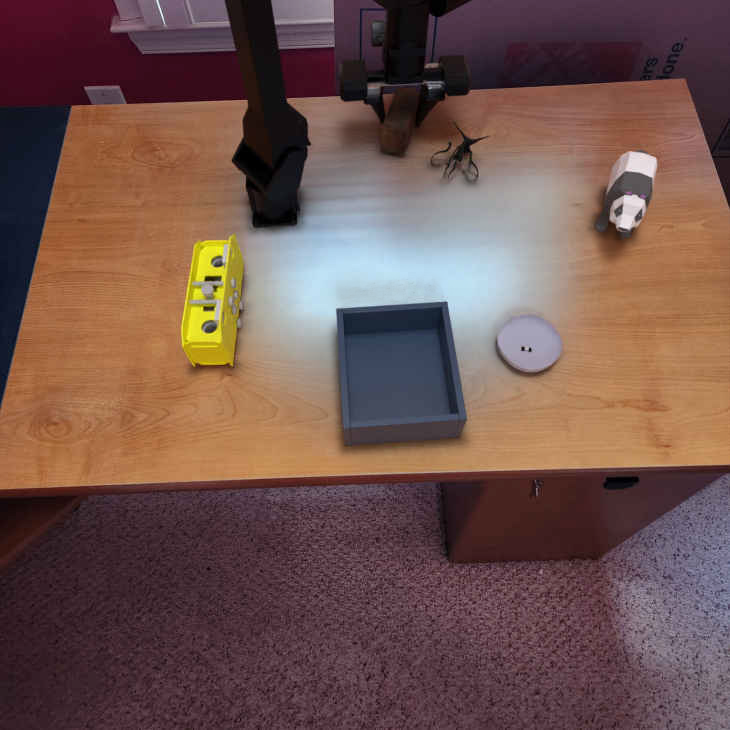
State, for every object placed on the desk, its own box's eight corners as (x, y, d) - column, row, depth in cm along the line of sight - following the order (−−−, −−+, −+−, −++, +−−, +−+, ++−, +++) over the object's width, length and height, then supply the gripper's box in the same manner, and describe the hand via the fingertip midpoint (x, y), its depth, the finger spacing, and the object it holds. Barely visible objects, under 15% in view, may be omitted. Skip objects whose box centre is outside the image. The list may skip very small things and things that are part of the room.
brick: (404, 157, 89) (406, 131, 85) (379, 152, 90) (380, 126, 86) (420, 112, 94) (422, 86, 90) (396, 108, 95) (398, 82, 90)
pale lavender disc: (557, 381, 71) (561, 374, 70) (492, 371, 72) (495, 364, 70) (558, 326, 75) (563, 319, 73) (497, 318, 76) (499, 310, 74)
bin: (344, 445, 68) (343, 428, 63) (338, 332, 75) (335, 308, 70) (460, 437, 68) (467, 419, 63) (442, 325, 75) (447, 301, 70)
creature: (468, 195, 87) (493, 155, 89) (469, 173, 82) (496, 131, 84) (423, 175, 89) (448, 136, 91) (421, 153, 84) (448, 112, 86)
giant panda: (603, 184, 87) (628, 131, 78) (641, 193, 86) (670, 141, 77) (585, 256, 80) (610, 207, 72) (625, 267, 80) (655, 219, 71)
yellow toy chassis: (238, 369, 73) (223, 334, 65) (192, 369, 73) (172, 335, 65) (248, 266, 80) (236, 225, 73) (207, 267, 80) (191, 226, 73)
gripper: (466, -9, 81) (452, 90, 95) (334, -3, 81) (339, 95, 95) (479, 39, 76) (462, 137, 90) (337, 46, 76) (342, 143, 89)
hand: (400, 126), depth 91 cm, fingers closed on brick, 5 cm apart
